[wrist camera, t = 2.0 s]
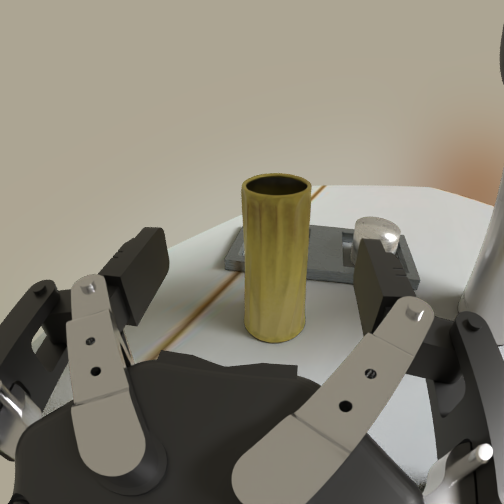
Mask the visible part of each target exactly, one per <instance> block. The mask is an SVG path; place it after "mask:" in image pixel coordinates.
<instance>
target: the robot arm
mask: <svg viewBox="0 0 504 504" xmlns="http://www.w3.org/2000/svg"><path fill="white" fill-rule="evenodd" d="M500 71H501V77H502V81H503V84H504V26H503V32H502V38H501V46H500ZM168 270H169V256H168V251H167V246H166V240H165V234H164V231H163V229H162V228H156V227H155V228H154V227H145V228H143V229H142V230H141V232H140V233H139V234H138V235H137V236H136V237H135V238H133V239H131V240H129V241H128V242H126V243H125V244H123V246H122V247H121V248H120V249H119V250H118V252H117V253H116V254H115V255H114V256H113V258H111V259H110V261H109V262H108V263H107V264H106V265H105V266H104V267H103V269H102V270H101V271H100V272H99V273H98V274H97V275H96V274H92V275H87V276H84V277H82V278H80V279H79V280H77V281H76V282H75V283H74V284H73V286H72V288H71V289H70V290H61V291H58V290H57V287H56V285H55V283H54V282H53V281H52V280H42V281H40V282H37V283H36V284H34V285H33V286H31V288H30V289H29V290H28V291H27V292H26V293H25V294H24V296H23V297H22V298H21V299H20V301H19V302H18V303H17V304H16V305H15V307H14V308H13V309H12V310H11V312H10V313H9V314H8V315H7V317H6V318H5V319H4V321H3V322H2V323H1V325H0V455H1V456H3V457H4V458H5V459H7V460H9V461H15V484H14V491H13V495H12V498H11V500H10V501H9V503H8V504H504V360H503V358H502V355H501V353H500V351H499V348H498V346H497V345H504V168H503V173H502V178H501V182H500V187H499V191H498V195H497V199H496V203H495V206H494V210H493V213H492V217H491V220H490V223H489V227H488V230H487V233H486V236H485V239H484V242H483V245H482V247H481V250H480V253H479V256H478V258H477V261H476V264H475V266H474V269H473V271H472V274H471V276H470V278H469V281H468V283H467V285H466V288H465V290H464V292H463V295H462V297H461V299H460V301H459V304H458V312H459V314H458V315H457V317H456V319H455V321H450V320H446V319H442V318H439V317H436V316H434V311H433V309H432V308H431V306H430V305H429V304H428V303H427V302H425V301H424V300H422V299H419V298H417V297H416V295H415V293H414V290H413V288H412V286H411V284H410V281H409V279H408V277H406V273H405V270H403V266H402V264H401V262H400V260H399V259H398V258H397V257H396V256H395V255H394V254H393V253H391V252H386V251H385V249H384V247H383V245H382V243H381V241H380V239H367V238H362V239H361V240H360V244H359V249H358V254H357V259H356V264H355V269H354V276H353V285H354V290H355V295H356V300H357V304H358V309H359V314H360V319H361V325H362V330H363V335H364V338H363V339H362V340H361V341H360V342H359V344H358V345H357V346H356V347H355V348H354V350H353V351H352V352H351V353H350V354H349V356H348V357H347V358H346V359H345V360H344V361H343V363H342V364H341V365H340V366H339V367H338V368H337V369H336V371H335V372H334V373H333V374H332V375H331V376H330V377H329V378H328V379H327V381H326V382H325V383H324V384H323V385H322V386H320V385H319V384H317V383H315V382H313V381H311V380H309V379H306V378H304V377H301V376H297V368H298V365H282V364H268V363H259V364H250V365H240V366H230V367H225V366H221V365H218V364H215V363H212V362H209V361H207V360H204V359H201V358H199V357H196V356H193V355H189V354H182V353H176V352H170V351H164V350H161V352H160V354H159V357H158V359H157V360H149V361H144V362H140V363H137V364H135V363H134V360H133V357H132V354H131V351H130V347H129V344H128V341H127V337H126V334H125V332H124V327H125V325H131V326H138V324H139V322H140V320H141V319H142V317H143V315H144V313H145V311H146V310H147V308H148V306H149V304H150V303H151V301H152V299H153V297H154V296H155V294H156V292H157V290H158V289H159V287H160V285H161V284H162V282H163V280H164V278H165V277H166V275H167V273H168ZM41 326H42V328H43V330H44V331H45V333H46V335H47V336H46V338H45V339H44V341H43V343H42V344H41V346H40V347H39V349H38V350H37V352H36V354H34V352H33V350H32V347H31V342H32V339H33V337H34V335H35V334H36V332H37V331H38V329H39V328H40V327H41ZM68 361H69V368H70V377H71V384H72V391H73V398H74V400H72V401H70V402H68V403H67V404H65V405H63V406H62V407H60V408H58V409H56V410H55V411H53V412H51V413H49V414H48V415H46V416H44V417H42V412H43V410H44V408H45V406H46V404H47V402H48V400H49V398H50V396H51V394H52V392H53V390H54V388H55V386H56V384H57V382H58V380H59V378H60V376H61V374H62V373H63V371H64V369H65V367H66V365H67V363H68ZM405 374H409V375H413V376H418V377H422V378H426V383H427V388H428V394H429V399H430V405H431V411H432V417H433V424H434V432H435V439H436V448H437V458H438V461H437V462H435V463H434V464H433V465H432V467H431V468H430V470H429V472H428V475H427V482H426V487H425V489H424V491H423V493H422V492H421V490H420V489H419V487H418V486H417V485H416V484H415V483H414V482H413V481H412V480H411V479H410V478H409V476H408V475H407V474H406V473H405V472H404V471H403V470H402V469H401V468H400V467H399V466H398V465H397V464H396V463H395V462H394V461H393V460H392V459H391V458H390V457H389V456H388V455H387V454H386V452H385V451H384V450H383V449H382V448H381V447H380V446H379V445H378V444H377V443H376V442H375V441H374V440H373V439H372V438H371V437H370V435H369V434H368V433H367V431H368V430H369V429H370V427H371V426H372V424H373V423H374V422H375V420H376V419H377V417H378V416H379V414H380V413H381V411H382V410H383V408H384V407H385V405H386V404H387V402H388V401H389V399H390V398H391V396H392V395H393V393H394V391H395V390H396V388H397V386H398V385H399V383H400V382H401V380H402V378H403V376H404V375H405ZM463 377H464V378H463Z"/></svg>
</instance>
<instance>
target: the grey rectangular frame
mask: <svg viewBox="0 0 504 504" xmlns="http://www.w3.org/2000/svg"><path fill="white" fill-rule="evenodd" d="M400 233H401V231H400V229H399V227H398V226H397V225H395V224H394V223H392V222H391V221H388V220H386V219H382V218H378V217H363V218H360V219H358V220H357V221H356V224H355V229H345V228H336V227H326V226H316V225H309V238H310V239H309V246H308V261H307V274H306V279H313V280H322V281H331V282H341V283H351V284H353V276H354V269H355V267H346V266H343V246H342V241H343V242H353V243H352V249H351V255H350V260H351V262H352V264H353V265H354V266H355V264H356V259H357V254H358V249H359V244H360V240H361V239H362V238H367V239H380V241H381V243H382V245H383V247H384V249H385V251H386V252H391V253H393V254H394V255H395V254H396V250H397V253H398V256H399V260H400V262H401V264H402V266H403V270H405V273H406V277H408V279H409V281H410V284H411V286H412V288H413V290H417V288H418V285H419V282H420V278H419V275H418V272H417V269H416V266H415V263H414V261H413V258H412V255H411V252H410V250H409V247H408V245H407V242H406V239H405V237H404V235H400ZM243 253H244V234H243V227H242V229H241V231H240V232H239V234H238V236H237V238H236V240H235V241H234V243H233V245H232V247H231V249H230V250H229V252H228V254H227V256H226V258H225V269H226V270H235V271H243V272H245V256H243Z"/></svg>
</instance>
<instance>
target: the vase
mask: <svg viewBox="0 0 504 504" xmlns="http://www.w3.org/2000/svg"><path fill="white" fill-rule="evenodd" d="M311 187H312V186H311V183H310V182H309V181H307V180H306V179H304V178H302V177H299V176H294V175H290V174H282V173H270V174H261V175H257V176H254V177H251V178H249V179H247V180H246V181H244V182H243V184H242V189H241V194H242V195H241V196H242V215H243V234H244V251H245V315H244V324H245V327H246V329H247V330H248V332H249V333H250V334H251V335H253V336H254V337H255V338H257V339H259V340H262V341H265V342H271V343H278V342H284V341H288V340H290V339H292V338H294V337H295V336H297V335H298V334H299V333H300V332H301V331H302V329H303V328H304V325H305V295H306V274H307V261H308V246H309V224H310V210H311Z"/></svg>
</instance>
